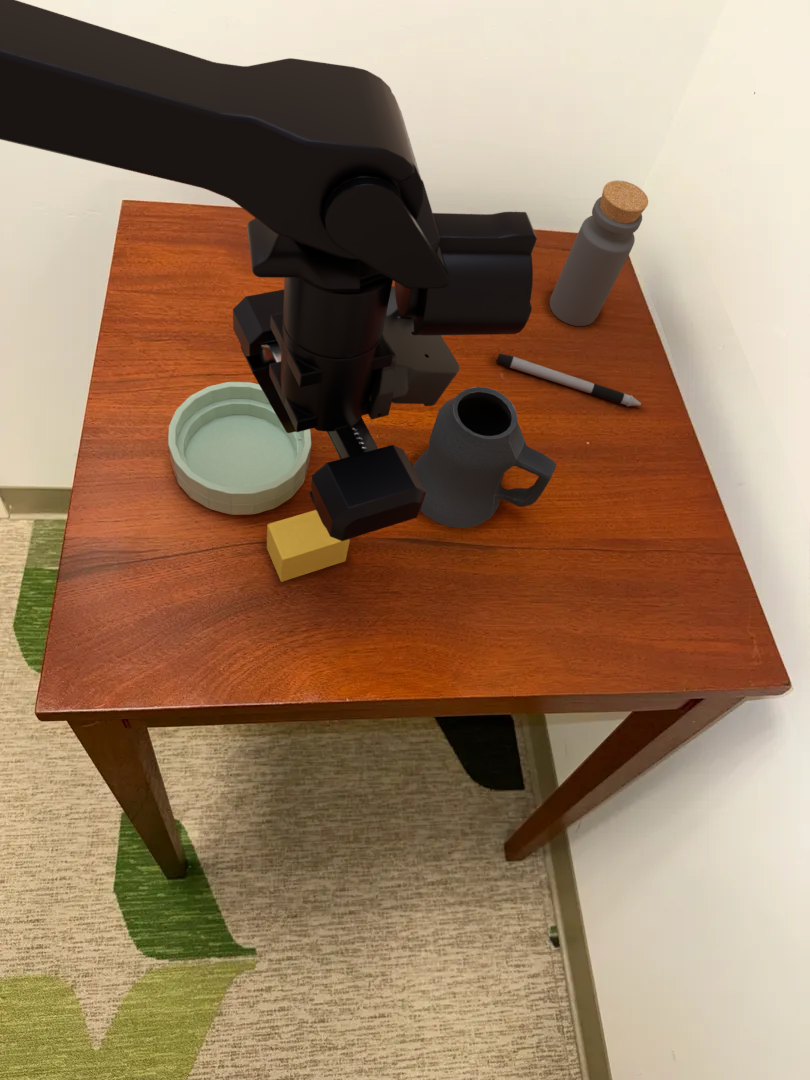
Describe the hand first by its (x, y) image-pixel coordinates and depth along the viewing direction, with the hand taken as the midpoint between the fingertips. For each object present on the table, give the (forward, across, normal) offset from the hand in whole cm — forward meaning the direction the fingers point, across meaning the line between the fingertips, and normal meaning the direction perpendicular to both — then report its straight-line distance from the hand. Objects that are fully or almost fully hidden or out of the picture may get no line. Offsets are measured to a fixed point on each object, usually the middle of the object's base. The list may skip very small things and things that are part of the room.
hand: (315, 477), depth 57 cm
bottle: (+12, +20, -41) cm, 47 cm away
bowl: (+12, +11, +2) cm, 16 cm away
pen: (+12, +10, -34) cm, 38 cm away
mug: (+12, +1, -17) cm, 21 cm away
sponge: (+12, 0, 0) cm, 12 cm away
